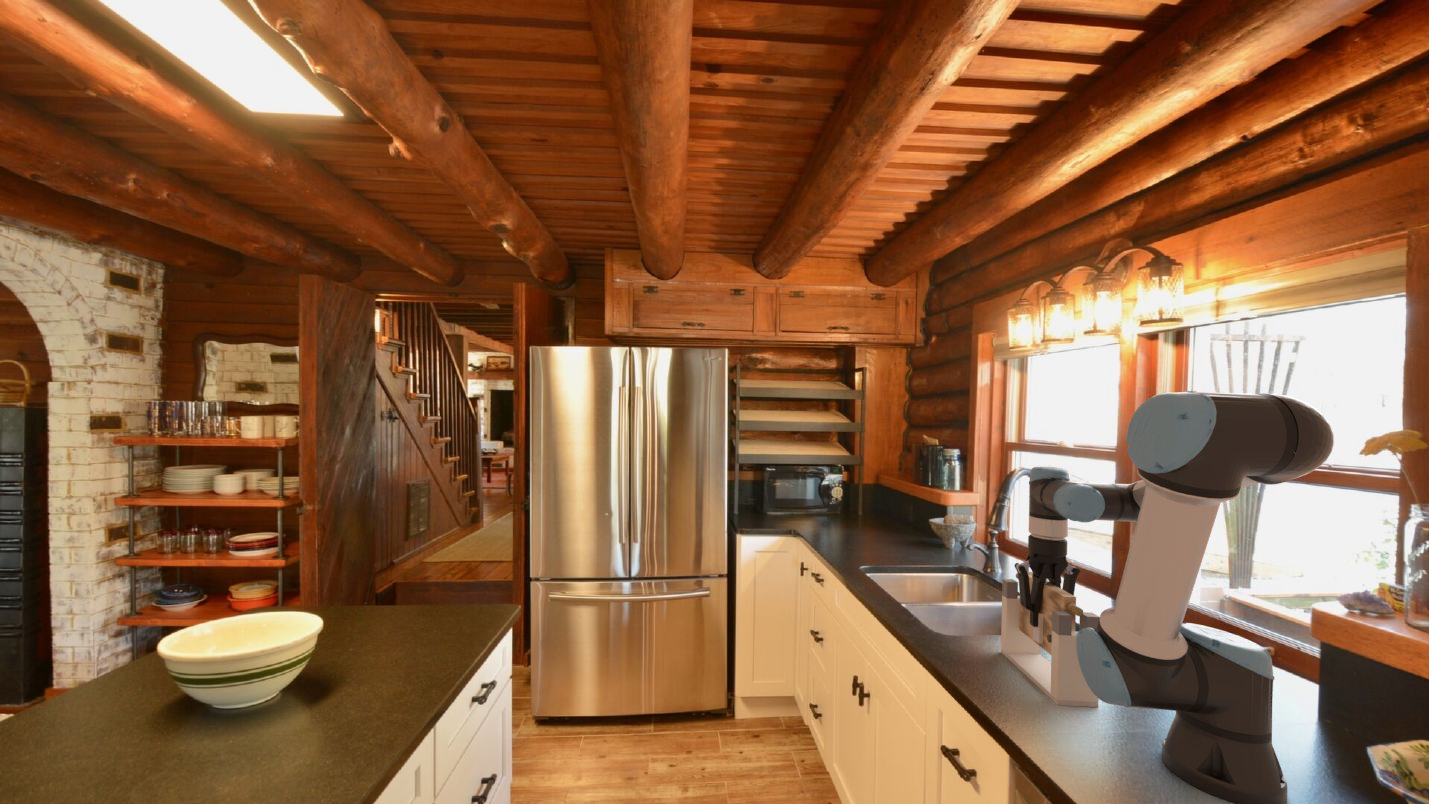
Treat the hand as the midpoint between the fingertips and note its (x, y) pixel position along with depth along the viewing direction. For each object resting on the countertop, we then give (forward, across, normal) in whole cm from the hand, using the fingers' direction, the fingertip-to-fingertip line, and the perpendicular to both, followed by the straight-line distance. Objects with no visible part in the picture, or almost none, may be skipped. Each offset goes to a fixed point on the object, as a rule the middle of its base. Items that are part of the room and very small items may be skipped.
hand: (1045, 641), depth 124 cm
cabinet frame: (+8, 0, 0) cm, 8 cm away
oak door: (+1, 0, 0) cm, 1 cm away
